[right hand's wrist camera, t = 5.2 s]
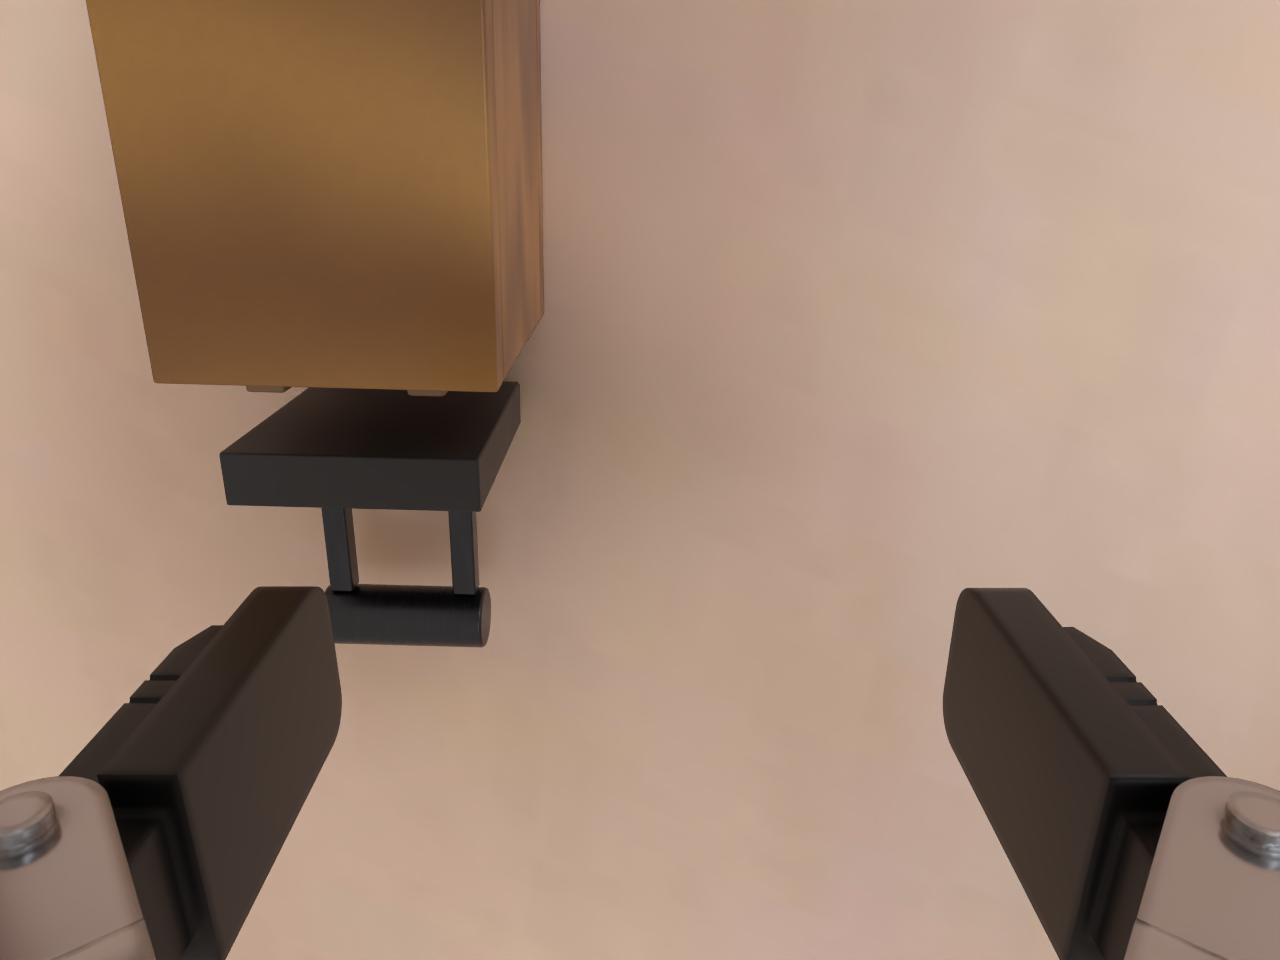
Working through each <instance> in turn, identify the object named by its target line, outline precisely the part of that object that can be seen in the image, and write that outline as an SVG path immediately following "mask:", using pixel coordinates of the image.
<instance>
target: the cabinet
mask: <svg viewBox="0 0 1280 960" xmlns="http://www.w3.org/2000/svg"><path fill="white" fill-rule="evenodd" d="M86 4H87V9H88V15H89V20H90V26H91V32H92V37H93V43H94V48H95V54H96V60H97V65H98V71H99V76H100V82H101V88H102V93H103V99H104V104H105V110H106V116H107V121H108V127H109V132H110V138H111V144H112V149H113V155H114V161H115V166H116V172H117V177H118V183H119V189H120V194H121V200H122V205H123V211H124V217H125V222H126V228H127V233H128V239H129V245H130V250H131V256H132V261H133V267H134V273H135V278H136V284H137V289H138V295H139V301H140V306H141V312H142V318H143V323H144V329H145V334H146V340H147V346H148V351H149V357H150V362H151V368H152V374H153V379H154V382H155V383H168V384H205V385H242V386H280V387H317V388H355V389H392V390H429V391H467V392H497V391H498V390H499V388H500V386H501V385H502V383H503V380H504V378H505V377H506V375H507V373H508V372H509V370H510V368H511V367H512V365H513V363H514V362H515V360H516V358H517V357H518V355H519V353H520V352H521V350H522V348H523V347H524V345H525V343H526V342H527V340H528V338H529V337H530V335H531V333H532V332H533V330H534V328H535V326H536V325H537V323H538V321H539V320H540V319H541V318H542V316H543V314H544V278H543V206H542V134H541V62H540V0H86Z"/></svg>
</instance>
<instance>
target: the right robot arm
mask: <svg viewBox="0 0 1280 960" xmlns="http://www.w3.org/2000/svg"><path fill="white" fill-rule="evenodd" d="M341 708H342V696H341V686H340V680H339V673H338V666H337V659H336V652H335V645H334V639H333V632H332V625H331V618H330V611H329V605H328V601H327V597H326V595H325V593H324V591H323V590H322V589H321V588H320V587H257V588H256V589H254V590H253V591H252V592H251V594H250V595H249V596H248V597H247V598H246V599H245V601H244V602H243V603H242V604H241V605H240V606H239V608H238V609H237V610H236V611H235V612H234V614H233V615H232V616H231V617H230V618H229V619H228V621H227V622H226V623H225V624H224V625H223V626H210V627H209V628H207V629H205V630H204V631H202V632H200V633H199V634H197V635H196V636H194V637H192V638H191V639H189V640H187V641H186V642H184V643H182V644H181V645H179V646H177V647H176V648H174V649H173V650H172V652H171V653H170V654H169V655H168V656H167V657H166V658H165V659H164V660H163V661H162V663H161V664H160V665H159V666H158V667H157V668H156V669H155V670H154V671H153V673H152V674H151V675H150V680H149V681H144V682H143V684H142V685H141V686H140V687H139V688H138V689H137V690H136V691H135V692H134V694H133V695H132V696H131V697H130V702H129V703H124V705H123V706H122V707H121V708H120V709H119V710H118V711H117V712H116V713H115V714H114V716H113V717H112V718H111V719H110V720H109V721H108V722H107V723H106V724H105V726H104V727H103V728H102V729H101V730H100V731H99V732H98V733H97V734H96V735H95V737H94V738H93V739H92V740H91V741H90V742H89V743H88V744H87V745H86V747H85V748H84V749H83V750H82V751H81V752H80V753H79V754H78V755H77V756H76V758H75V759H74V760H73V761H72V762H71V763H70V764H69V765H68V766H67V767H66V769H65V770H64V771H63V772H62V773H61V774H60V775H59V776H57V777H49V778H42V779H38V780H33V781H29V782H25V783H22V784H19V785H15V786H12V787H10V788H7V789H5V790H2V791H0V960H225V959H226V957H227V955H228V953H229V951H230V949H231V947H232V945H233V943H234V941H235V939H236V937H237V935H238V933H239V931H240V929H241V927H242V925H243V923H244V921H245V919H246V917H247V915H248V914H249V912H250V910H251V908H252V906H253V904H254V902H255V900H256V898H257V896H258V894H259V892H260V890H261V888H262V886H263V884H264V882H265V880H266V878H267V876H268V874H269V872H270V870H271V868H272V866H273V864H274V862H275V860H276V858H277V856H278V854H279V852H280V850H281V848H282V846H283V844H284V842H285V840H286V838H287V836H288V834H289V832H290V830H291V828H292V826H293V824H294V822H295V820H296V818H297V816H298V814H299V812H300V810H301V808H302V806H303V804H304V802H305V800H306V798H307V796H308V794H309V792H310V790H311V788H312V786H313V784H314V782H315V780H316V778H317V776H318V774H319V772H320V770H321V768H322V766H323V764H324V762H325V760H326V758H327V756H328V754H329V752H330V750H331V748H332V746H333V744H334V742H335V740H336V737H337V733H338V729H339V725H340V719H341ZM943 716H944V723H945V729H946V733H947V736H948V739H949V742H950V744H951V747H952V749H953V751H954V753H955V755H956V757H957V759H958V761H959V762H960V764H961V766H962V768H963V770H964V772H965V774H966V776H967V778H968V780H969V782H970V784H971V786H972V788H973V790H974V792H975V794H976V796H977V798H978V800H979V802H980V804H981V806H982V808H983V810H984V812H985V814H986V816H987V818H988V819H989V821H990V823H991V825H992V827H993V829H994V831H995V833H996V835H997V837H998V839H999V841H1000V843H1001V845H1002V847H1003V849H1004V851H1005V853H1006V855H1007V857H1008V859H1009V861H1010V863H1011V865H1012V867H1013V869H1014V871H1015V873H1016V875H1017V877H1018V878H1019V880H1020V882H1021V884H1022V886H1023V888H1024V890H1025V892H1026V894H1027V896H1028V898H1029V900H1030V902H1031V904H1032V906H1033V908H1034V910H1035V912H1036V914H1037V916H1038V918H1039V920H1040V922H1041V924H1042V926H1043V928H1044V930H1045V932H1046V934H1047V936H1048V937H1049V939H1050V941H1051V943H1052V945H1053V947H1054V949H1055V951H1056V953H1057V955H1058V957H1059V959H1060V960H1280V791H1278V790H1275V789H1273V788H1270V787H1268V786H1265V785H1261V784H1258V783H1255V782H1251V781H1247V780H1242V779H1238V778H1231V777H1227V776H1226V775H1225V774H1224V773H1223V772H1222V771H1221V769H1220V768H1219V767H1218V766H1217V765H1216V764H1215V763H1214V762H1213V761H1212V760H1211V759H1210V757H1209V756H1208V755H1207V754H1206V753H1205V752H1204V751H1203V750H1202V749H1201V748H1200V746H1199V745H1198V744H1197V743H1196V742H1195V741H1194V740H1193V739H1192V738H1191V737H1190V736H1189V734H1188V733H1187V732H1186V731H1185V730H1184V729H1183V728H1182V727H1181V726H1180V725H1179V723H1178V722H1177V721H1176V720H1175V719H1174V718H1173V717H1172V716H1171V715H1170V714H1169V713H1168V711H1167V710H1166V709H1165V708H1164V707H1163V706H1158V705H1157V699H1156V698H1155V697H1154V696H1153V695H1152V694H1151V693H1150V692H1149V691H1148V690H1147V688H1146V687H1145V686H1144V685H1143V684H1142V683H1141V682H1136V676H1135V675H1134V674H1133V673H1132V672H1131V671H1130V670H1129V669H1128V668H1127V667H1126V665H1125V664H1124V663H1123V662H1122V661H1121V660H1120V659H1119V658H1118V657H1117V656H1116V655H1115V653H1114V652H1113V651H1112V650H1110V649H1109V648H1107V647H1105V646H1104V645H1102V644H1101V643H1099V642H1097V641H1096V640H1094V639H1092V638H1091V637H1089V636H1087V635H1086V634H1084V633H1082V632H1081V631H1079V630H1077V629H1076V628H1074V627H1062V626H1061V625H1060V624H1059V623H1058V621H1057V620H1056V619H1055V618H1054V617H1053V616H1052V614H1051V613H1050V612H1049V611H1048V610H1047V609H1046V607H1045V606H1044V605H1043V604H1042V603H1041V602H1040V600H1039V599H1038V598H1037V597H1036V596H1035V595H1034V593H1033V592H1032V591H1030V590H1029V589H1027V588H966V589H964V590H963V591H962V592H961V594H960V596H959V598H958V601H957V605H956V611H955V618H954V625H953V631H952V638H951V645H950V652H949V658H948V665H947V672H946V678H945V685H944V693H943Z"/></svg>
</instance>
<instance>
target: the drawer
mask: <svg viewBox="0 0 1280 960" xmlns="http://www.w3.org/2000/svg"><path fill="white" fill-rule="evenodd" d="M289 388H291V387H280V386H246V389H247V391H249V392H277V393H283V392H285V391H286V390H288V389H289ZM520 422H521V421H520V384H519V383H518V382H503V383H502V385H501V386H500V388H499V390H498V391H497V392H467V391H429V390H392V389H355V388H317V387H309V388H308V389H306V390H305V391H304V392H302V393H301V394H300V395H298V396H297V397H295V398H294V399H293V400H291V401H290V402H289V403H287V404H286V405H285V406H283V407H282V408H281V409H279V410H278V411H276V412H275V413H274V414H272V415H271V416H270V417H268V418H267V419H266V420H264V421H263V422H262V423H260V424H259V425H257V426H256V427H255V428H253V429H252V430H251V431H249V432H248V433H247V434H245V435H244V436H242V437H241V438H240V439H238V440H237V441H236V442H234V443H233V444H232V445H230V446H229V447H228V448H226V449H225V450H223V451H222V452H221V453H220V461H221V468H222V474H223V481H224V487H225V494H226V500H227V504H228V505H246V506H284V507H322V516H323V525H324V534H325V542H326V551H327V560H328V569H329V578H330V585H329V586H328V588H327V589H326V591H325V595H326V597H327V601H328V605H329V611H330V618H331V625H332V632H333V639H334V643H340V644H378V645H416V646H454V647H484V646H485V645H486V643H487V640H488V636H489V630H490V621H491V599H490V593H489V590H488V589H487V588H485V587H478V586H479V568H478V546H477V524H476V512H479V511H481V509H482V507H483V504H484V502H485V500H486V498H487V495H488V493H489V491H490V489H491V486H492V484H493V482H494V480H495V478H496V475H497V473H498V471H499V469H500V466H501V464H502V462H503V460H504V457H505V455H506V453H507V451H508V449H509V446H510V444H511V442H512V440H513V437H514V435H515V433H516V431H517V429H518V426H519V424H520ZM352 508H359V509H397V510H435V511H448V512H449V530H450V547H451V564H452V582H453V587H449V586H411V585H373V584H358V582H359V577H358V567H357V557H356V547H355V537H354V527H353V517H352Z"/></svg>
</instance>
